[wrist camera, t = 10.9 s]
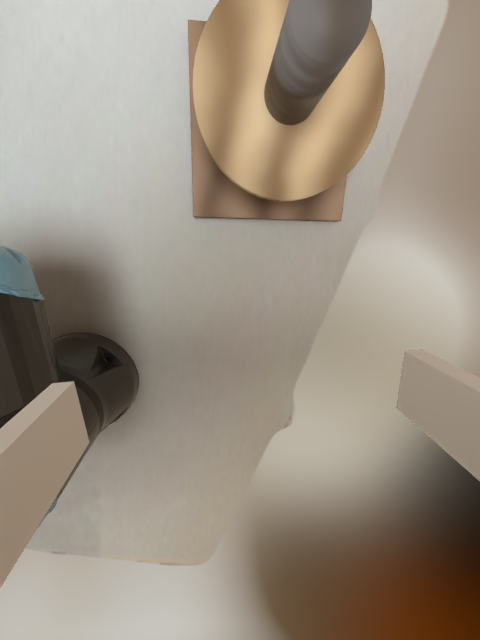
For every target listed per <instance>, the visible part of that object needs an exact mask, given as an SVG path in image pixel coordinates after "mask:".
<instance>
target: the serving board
mask: <svg viewBox="0 0 480 640" xmlns="http://www.w3.org/2000/svg"><path fill="white" fill-rule="evenodd" d="M206 22H207V21H196V20H188V38H189V74H190V111H191V147H192V183H193V216H194V217H204V218H238V219H272V220H306V221H341V219H342V211H343V202H344V194H345V186H346V178H347V175H346V176H344V177H343V178H342V179H341V180H340V181H339V182H337V183H336V184H334V185H333V186H331V187H330V188H328V189H326V190H324V191H322V192H320V193H318V194H316V195H314V196H311V197H308V198H305V199H301V200H296V201H282V202H281V201H272V200H267V199H264V198H260V197H257V196H255V195H253V194H250V193H248V192H247V191H245V190H243V189H242V188H240V187H239V186H237V185H236V184H235V183H234V182H232V181H231V180H230V179H229V178H228V177H227V176H226V175H225V174H224V173H223V172H222V171H221V170H220V168H219V167H218V166H217V164H216V163H215V162H214V160H213V158H212V157H211V155H210V153H209V151H208V150H207V148H206V145H205V143H204V141H203V138H202V136H201V133H200V129H199V126H198V122H197V117H196V112H195V106H194V99H193V68H194V61H195V54H196V51H197V47H198V43H199V39H200V37H201V34H202V31H203V29H204V26H205V24H206Z"/></svg>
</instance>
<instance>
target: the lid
mask: <svg viewBox="0 0 480 640" xmlns="http://www.w3.org/2000/svg"><path fill="white" fill-rule="evenodd" d="M371 10H372V0H220V1H219V2H218V4H217V5H216V7H215V8H214V9H213V11H212V13H211V15H210V17H209V18H208V20H207V22H206V24H205V26H204V29H203V31H202V34H201V37H200V39H199V43H198V47H197V51H196V54H195V61H194V68H193V99H194V106H195V112H196V117H197V122H198V126H199V129H200V133H201V136H202V138H203V141H204V143H205V145H206V148H207V150H208V151H209V153H210V155H211V157H212V158H213V160H214V162H215V163H216V164H217V166H218V167H219V168H220V170H221V171H222V172H223V173H224V174H225V175H226V176H227V177H228V178H229V179H230V180H231V181H232V182H234V183H235V184H236V185H237V186H239V187H240V188H242V189H243V190H245V191H247V192H248V193H250V194H253V195H255V196H257V197H260V198H264V199H267V200H272V201H281V202H282V201H296V200H301V199H305V198H308V197H311V196H314V195H316V194H318V193H320V192H322V191H324V190H326V189H328V188H330V187H331V186H333V185H334V184H336V183H337V182H339V181H340V180H341V179H342V178H343V177H344V176H346V175H347V174H348V173H349V172H350V171H351V169H352V168H353V167H354V166H355V165H356V164H357V162H358V161H359V160H360V158H361V157H362V156H363V154H364V153H365V151H366V149H367V147H368V145H369V144H370V142H371V140H372V137H373V135H374V133H375V130H376V128H377V125H378V121H379V118H380V115H381V110H382V105H383V99H384V89H385V69H384V61H383V54H382V49H381V45H380V40H379V37H378V35H377V32H376V29H375V26H374V24H373V22H372V20H371Z"/></svg>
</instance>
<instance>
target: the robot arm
mask: <svg viewBox="0 0 480 640" xmlns="http://www.w3.org/2000/svg"><path fill="white" fill-rule="evenodd" d="M43 301H44V297H43V295H41V294H40V291H39V289H38V286H37V283H36V280H35V277H34V274H33V271H32V267H31V265H30V263H29V261H28V260H27V259H26V258H25V257H24V256H23V255H22V254H21V253H19V252H17V251H16V250H13V249H11V248H8V247H4V246H0V587H1V586H2V585H3V583H4V581H5V580H6V578H7V576H8V575H9V573H10V571H11V570H12V568H13V567H14V565H15V563H16V562H17V560H18V558H19V557H20V555H21V554H22V552H23V550H24V549H25V547H26V545H27V544H28V542H29V541H30V539H31V537H32V536H33V534H34V532H35V531H36V529H37V528H38V527H39V525H40V524H41V522H42V521H43V520H44V518H45V517H46V516H47V514H48V513H50V512H51V511H52V510H53V509H54V507H55V505H56V502H57V500H58V498H59V496H60V495H61V493H62V492H63V490H64V488H65V487H66V485H67V483H68V482H69V480H70V479H71V477H72V475H73V474H74V472H75V470H76V469H77V467H78V466H79V464H80V462H81V461H82V459H83V458H84V456H85V454H86V453H87V451H88V450H89V448H90V446H91V445H92V443H93V442H94V440H95V439H96V437H97V435H98V434H99V433H100V432H101V431H102V430H104V429H105V428H106V427H107V426H108V425H109V424H111V423H113V422H115V421H116V420H117V419H119V418H120V417H121V416H122V415H123V414H124V413H125V412H126V411H127V410H128V408H129V407H130V405H131V403H132V401H133V400H134V398H135V396H136V393H137V389H138V374H137V370H136V367H135V365H134V363H133V361H132V359H131V358H130V356H129V355H128V354H127V353H126V352H125V350H123V349H122V348H121V347H120V346H119V345H117V344H116V343H114V342H113V341H111V340H109V339H107V338H105V337H102V336H99V335H95V334H90V333H73V334H68V335H65V336H62V337H59V338H57V339H55V340H54V341H52V338H51V334H50V330H49V326H48V321H47V317H46V313H45V309H44V305H43ZM396 407H397V409H398V410H399V411H401V412H402V413H403V414H404V415H405V416H406V417H408V418H409V419H410V420H411V421H412V422H413V423H414V424H415V425H416V426H417V427H419V428H420V429H421V430H422V431H423V432H424V433H425V434H427V435H428V436H429V437H430V438H431V439H432V440H433V441H435V442H436V443H437V444H438V445H439V446H440V447H441V448H443V449H444V450H445V451H446V452H447V453H448V454H449V455H451V456H452V457H453V458H454V459H455V460H456V461H457V462H458V463H460V464H461V465H462V466H463V467H464V468H465V469H467V470H468V471H469V472H470V473H471V474H472V475H473V476H474V477H476V478H477V479H478V480H479V481H480V378H478V377H476V376H474V375H472V374H470V373H468V372H466V371H464V370H462V369H460V368H458V367H456V366H454V365H452V364H450V363H448V362H446V361H444V360H442V359H440V358H438V357H436V356H434V355H432V354H430V353H428V352H426V351H424V350H422V349H420V350H409V351H405V352H404V357H403V364H402V371H401V378H400V385H399V392H398V400H397V406H396Z"/></svg>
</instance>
